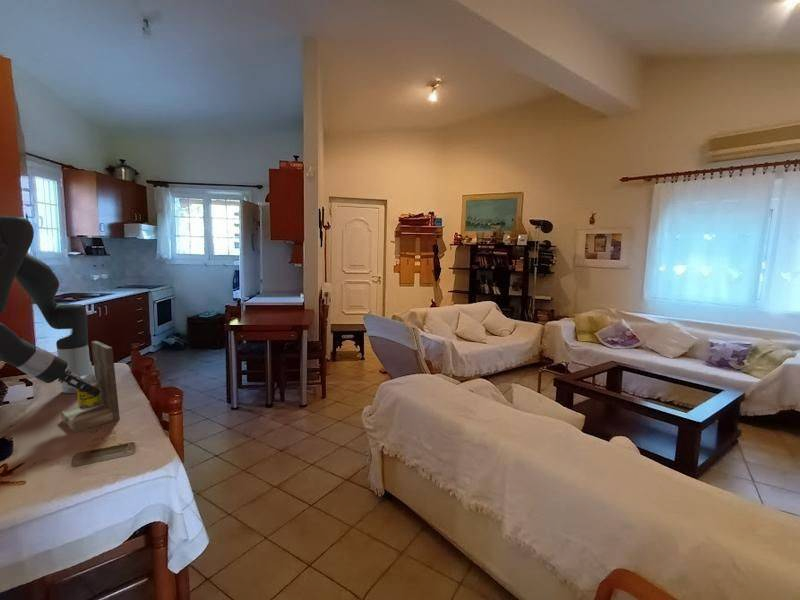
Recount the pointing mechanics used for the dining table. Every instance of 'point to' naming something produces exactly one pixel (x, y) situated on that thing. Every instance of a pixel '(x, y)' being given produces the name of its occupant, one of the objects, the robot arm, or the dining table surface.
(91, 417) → the wooden bookend
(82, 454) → the dining table surface
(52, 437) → the dining table surface
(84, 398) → the supplement bottle
